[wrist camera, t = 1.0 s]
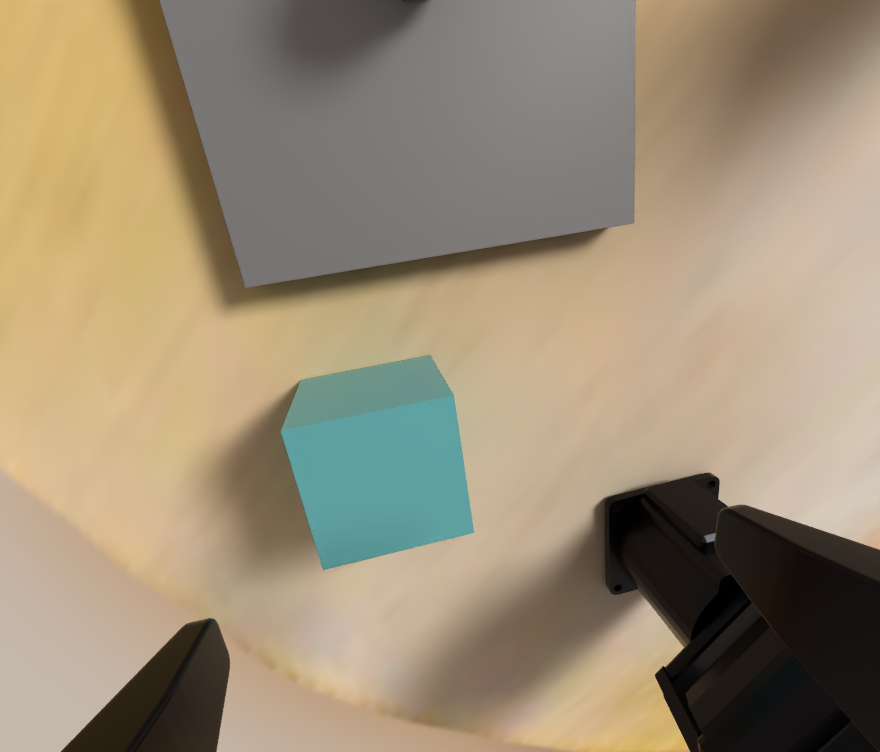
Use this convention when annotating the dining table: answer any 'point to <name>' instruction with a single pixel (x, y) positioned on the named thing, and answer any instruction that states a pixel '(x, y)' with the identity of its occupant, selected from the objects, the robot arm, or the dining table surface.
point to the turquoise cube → (378, 460)
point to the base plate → (407, 124)
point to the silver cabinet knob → (413, 1)
